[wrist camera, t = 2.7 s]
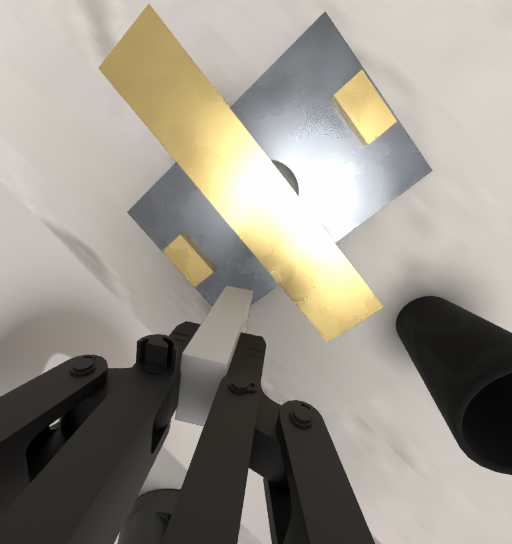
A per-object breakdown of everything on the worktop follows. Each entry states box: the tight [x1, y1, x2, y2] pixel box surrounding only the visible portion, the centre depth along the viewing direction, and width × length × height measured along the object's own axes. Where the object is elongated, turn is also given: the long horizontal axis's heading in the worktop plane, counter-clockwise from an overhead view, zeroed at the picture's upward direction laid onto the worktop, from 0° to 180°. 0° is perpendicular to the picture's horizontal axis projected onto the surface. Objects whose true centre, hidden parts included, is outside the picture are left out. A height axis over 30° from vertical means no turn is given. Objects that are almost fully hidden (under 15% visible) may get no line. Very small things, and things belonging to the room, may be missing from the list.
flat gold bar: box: [99, 4, 383, 342], centre depth 16 cm, size 3×16×7 cm, turn 40°
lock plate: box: [128, 12, 432, 307], centre depth 22 cm, size 22×14×6 cm, turn 130°
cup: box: [396, 296, 512, 475], centre depth 21 cm, size 8×8×12 cm
